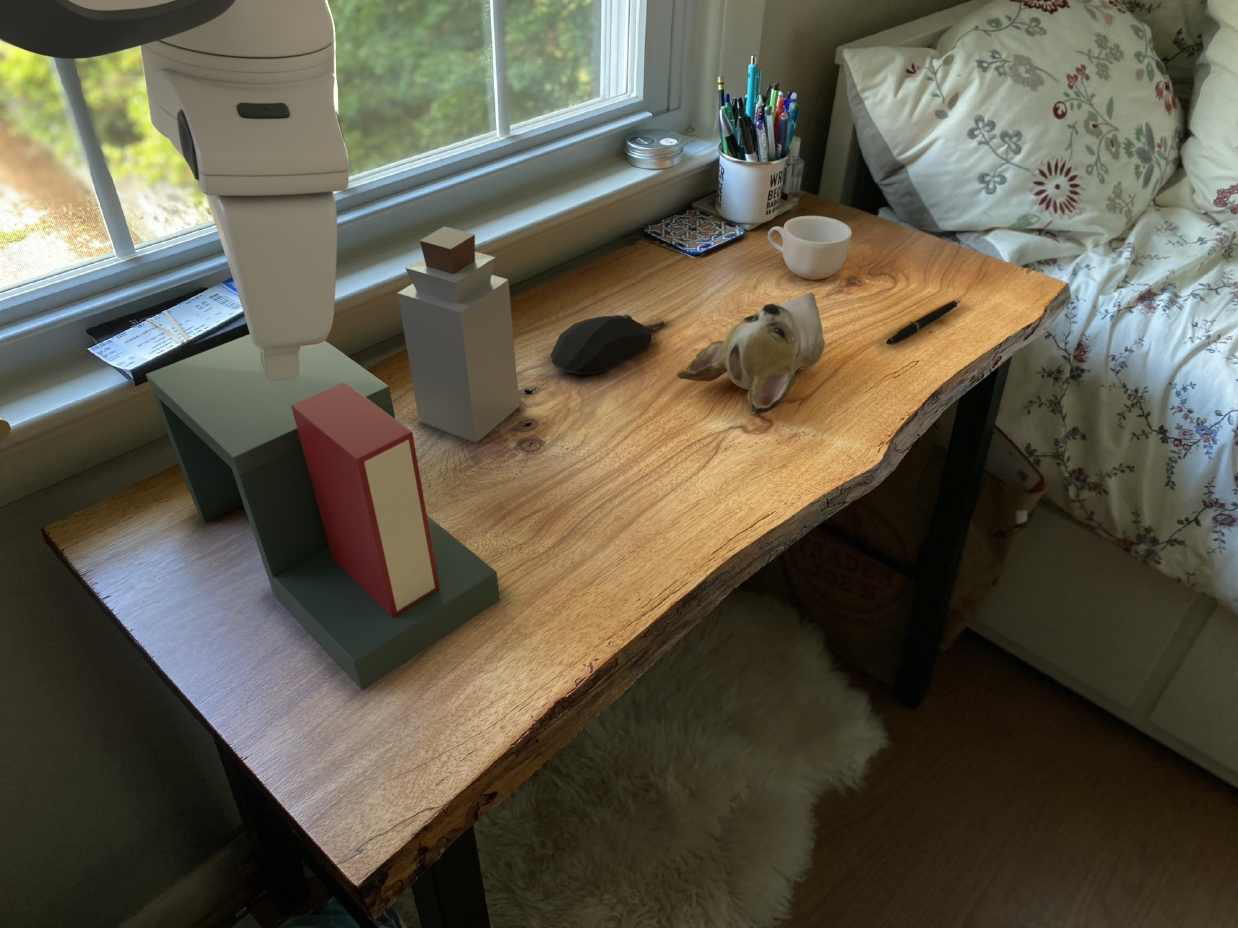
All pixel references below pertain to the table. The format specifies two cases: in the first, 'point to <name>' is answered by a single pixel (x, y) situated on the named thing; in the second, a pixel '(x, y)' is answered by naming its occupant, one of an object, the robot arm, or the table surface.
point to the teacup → (813, 245)
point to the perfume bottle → (459, 337)
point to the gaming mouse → (600, 344)
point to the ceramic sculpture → (765, 351)
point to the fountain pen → (919, 323)
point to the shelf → (302, 501)
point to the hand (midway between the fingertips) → (265, 328)
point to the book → (368, 495)
